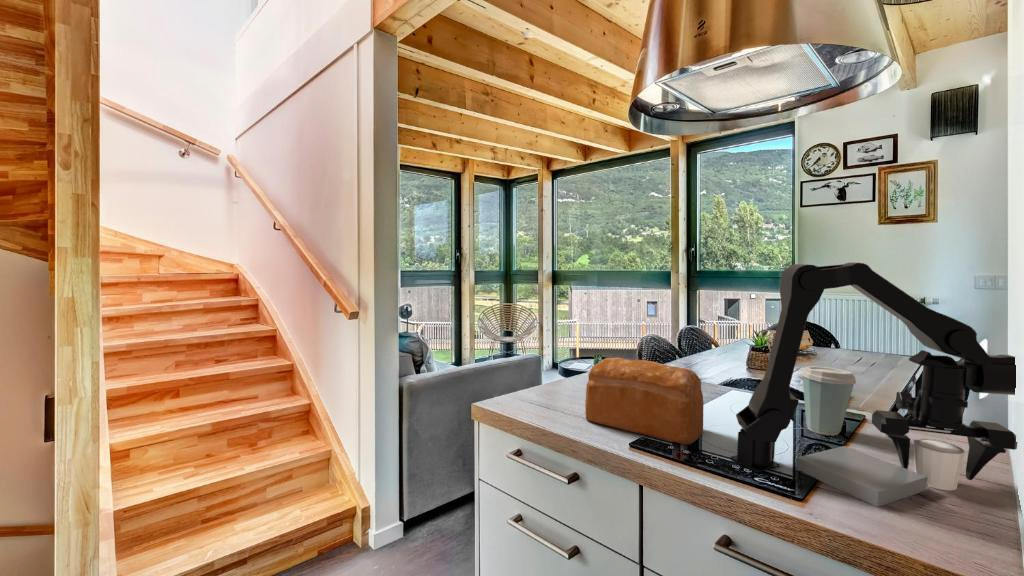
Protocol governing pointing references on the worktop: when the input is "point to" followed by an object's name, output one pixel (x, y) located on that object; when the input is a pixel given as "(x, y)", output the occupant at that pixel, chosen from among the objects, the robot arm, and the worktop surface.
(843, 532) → the worktop surface
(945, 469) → the white cup
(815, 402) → the disposable coffee cup
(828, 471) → the slate board
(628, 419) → the bread
